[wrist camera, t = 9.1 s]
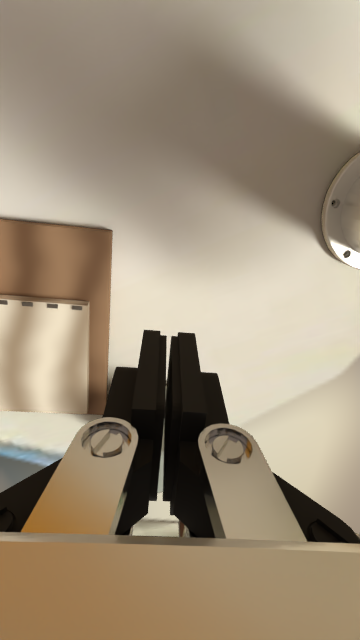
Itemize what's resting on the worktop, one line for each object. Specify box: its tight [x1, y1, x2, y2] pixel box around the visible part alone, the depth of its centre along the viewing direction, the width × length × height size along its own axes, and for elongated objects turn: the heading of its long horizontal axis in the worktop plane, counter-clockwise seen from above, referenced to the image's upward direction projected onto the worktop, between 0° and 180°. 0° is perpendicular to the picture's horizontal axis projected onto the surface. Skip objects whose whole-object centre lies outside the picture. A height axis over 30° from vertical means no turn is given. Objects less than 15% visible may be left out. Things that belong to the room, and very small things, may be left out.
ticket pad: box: [0, 219, 112, 415], centre depth 36 cm, size 18×22×2 cm
